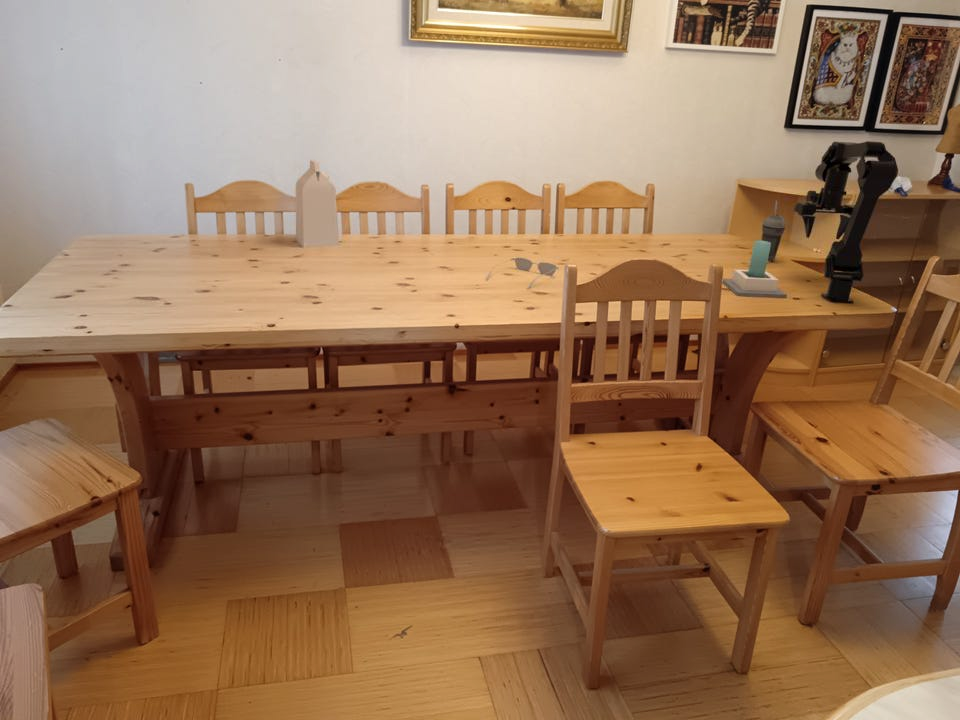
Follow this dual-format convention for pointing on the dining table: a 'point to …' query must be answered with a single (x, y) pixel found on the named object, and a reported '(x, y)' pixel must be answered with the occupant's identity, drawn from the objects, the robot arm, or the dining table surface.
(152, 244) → the dining table surface
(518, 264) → the eyeglasses
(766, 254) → the peg
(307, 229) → the milk
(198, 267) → the dining table surface
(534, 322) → the dining table surface
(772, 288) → the socket block
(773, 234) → the beverage cup
